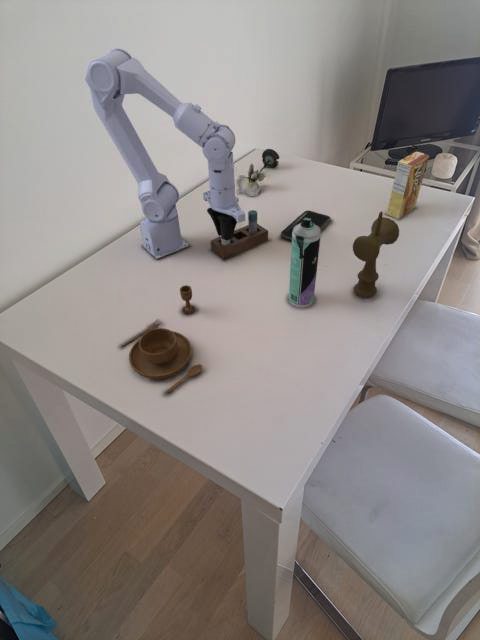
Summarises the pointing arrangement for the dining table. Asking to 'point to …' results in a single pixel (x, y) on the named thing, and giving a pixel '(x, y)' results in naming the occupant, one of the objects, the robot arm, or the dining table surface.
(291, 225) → the phone
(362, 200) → the dining table surface
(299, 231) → the spray can
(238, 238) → the marker stand
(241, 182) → the artificial flower
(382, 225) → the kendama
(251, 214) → the teal marker
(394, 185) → the candy box
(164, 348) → the place setting
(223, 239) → the black marker
